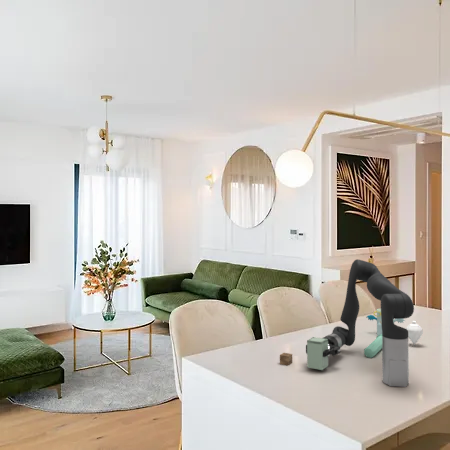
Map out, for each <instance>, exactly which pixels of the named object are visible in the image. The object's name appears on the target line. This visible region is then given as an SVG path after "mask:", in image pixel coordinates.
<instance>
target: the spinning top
mask: <svg viewBox="0 0 450 450" xmlns="http://www.w3.org/2000/svg"><path fill="white" fill-rule="evenodd" d="M405 329H407V330H408V340H410V341H411V343H412V344H413V346H414V347H415V346H416V344H417V342H419V340H420V339H421V337H422V336H423V333H424V331H423V328H422V326H420V324H418V323H417V321H416V320H411V323H409V324H408V325H407V326H406V328H405Z"/></svg>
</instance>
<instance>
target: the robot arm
mask: <svg viewBox="0 0 450 450" xmlns="http://www.w3.org/2000/svg"><path fill="white" fill-rule="evenodd" d="M357 281H360V282H364V283H366V288H367V291H368V292H369V293H370V294H371V295H372V297H374V298H375V299H376V300H379V301H380V309H381V320H382V349H381V351H382V353H381V354H382V359H381V360H382V382H383V383H384V384H385V385H388V386H389V387H405V388H407V386H408V385H409V382H410V381H409V378H410V377H409V375H410V374H409V371H410V369H409V337H408V330H407V329H406V328H405V327H403V326H399V325H396V324H395V322H394V323H393V319H394V320H395V319H404V320H406V319H408V318H411V316H412V315H413V314H414V311H415V307H414V302H413V299H412V298H411V297H410V296H409V295H408V294H407V293H405V292H404V291H403V290H402V289H399V288H398V287H397V286H395V284H393V283H392V282H391V281H390V280H389V279H388V278H387V277H386V276H385V275H383V274H382V273H381V271H380V270H379V268H378V267H377V266H376V265H375V263H372V262H369V261H365V260H362V259H355V260H353V262H352V264H351V265H350V269H349V273H348V281H347V287H346V293H345V300H344V305H343V307H342V308H343V309H342V311H341V315H340V321H341V323H343V324H344V325H346V326H347V328H345V327H342V326H341V325H340V326H339V325H337V326H335V327H334V328H333V330H332V332H331V333H330V334H328V335H325V336H324V337H323V338H324V339H328V349H327V350H325V351H323V357H326V356H328V357H329V356H333V357H335V356H337V355H339V354H340V353H341V348H342V347H344V346H348V347H350V346H352V345H353V344H354V343H355V340H356V322H357V319H358V316H359V312H360V301H359V298H358V293H357V286H356V284H357ZM305 353H306V354H307V344H306V345H305Z"/></svg>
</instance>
